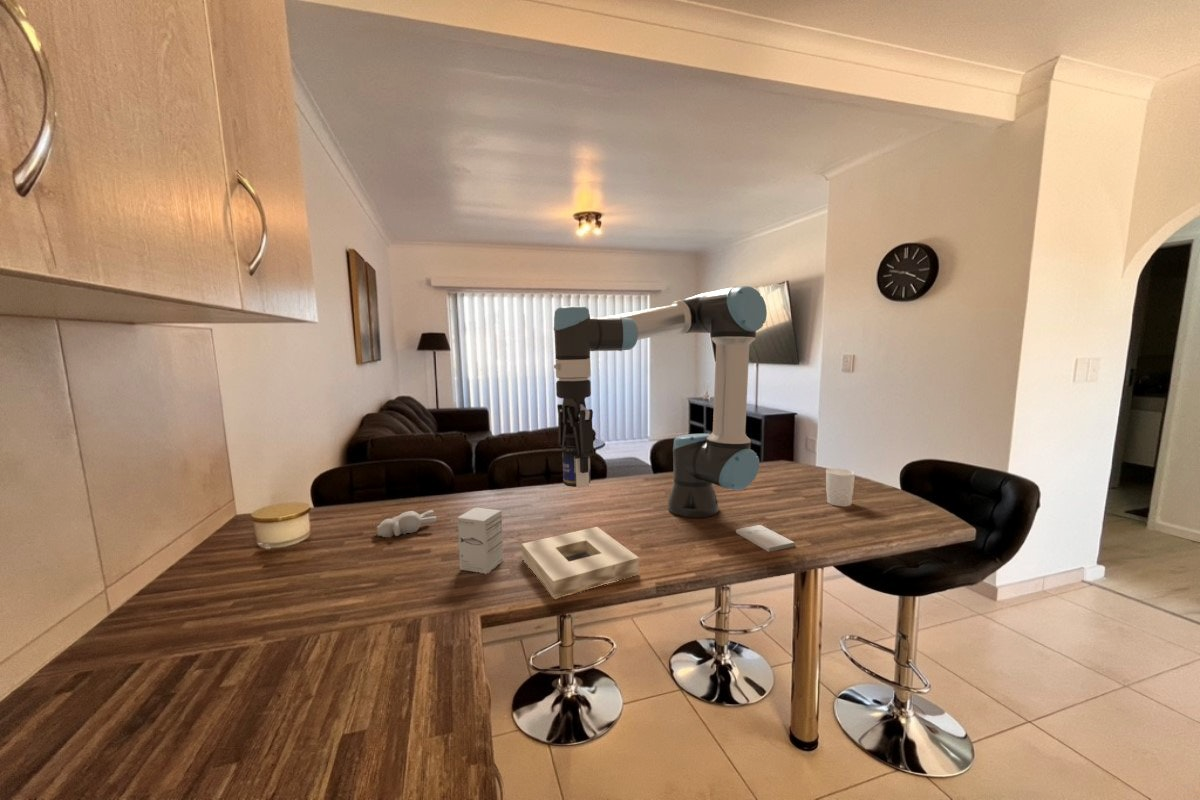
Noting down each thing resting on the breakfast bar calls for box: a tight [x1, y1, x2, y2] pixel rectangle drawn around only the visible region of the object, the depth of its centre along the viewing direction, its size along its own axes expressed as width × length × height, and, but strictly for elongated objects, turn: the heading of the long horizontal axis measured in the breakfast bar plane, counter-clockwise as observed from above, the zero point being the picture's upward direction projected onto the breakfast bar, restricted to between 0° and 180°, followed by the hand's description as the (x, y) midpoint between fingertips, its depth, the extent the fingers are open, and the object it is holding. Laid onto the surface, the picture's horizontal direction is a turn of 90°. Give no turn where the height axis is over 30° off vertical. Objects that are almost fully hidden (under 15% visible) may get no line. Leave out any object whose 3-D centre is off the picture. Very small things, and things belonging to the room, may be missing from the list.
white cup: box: [825, 467, 856, 507], centre depth 140 cm, size 8×8×10 cm
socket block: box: [521, 526, 640, 599], centre depth 103 cm, size 20×20×4 cm
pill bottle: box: [561, 433, 591, 488], centre depth 100 cm, size 6×6×11 cm
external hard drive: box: [735, 524, 796, 553], centre depth 116 cm, size 2×8×12 cm
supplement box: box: [457, 507, 504, 575], centre depth 104 cm, size 7×7×13 cm
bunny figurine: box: [376, 509, 437, 538], centre depth 126 cm, size 10×5×15 cm
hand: (576, 482), depth 101 cm, fingers closed on pill bottle, 6 cm apart
